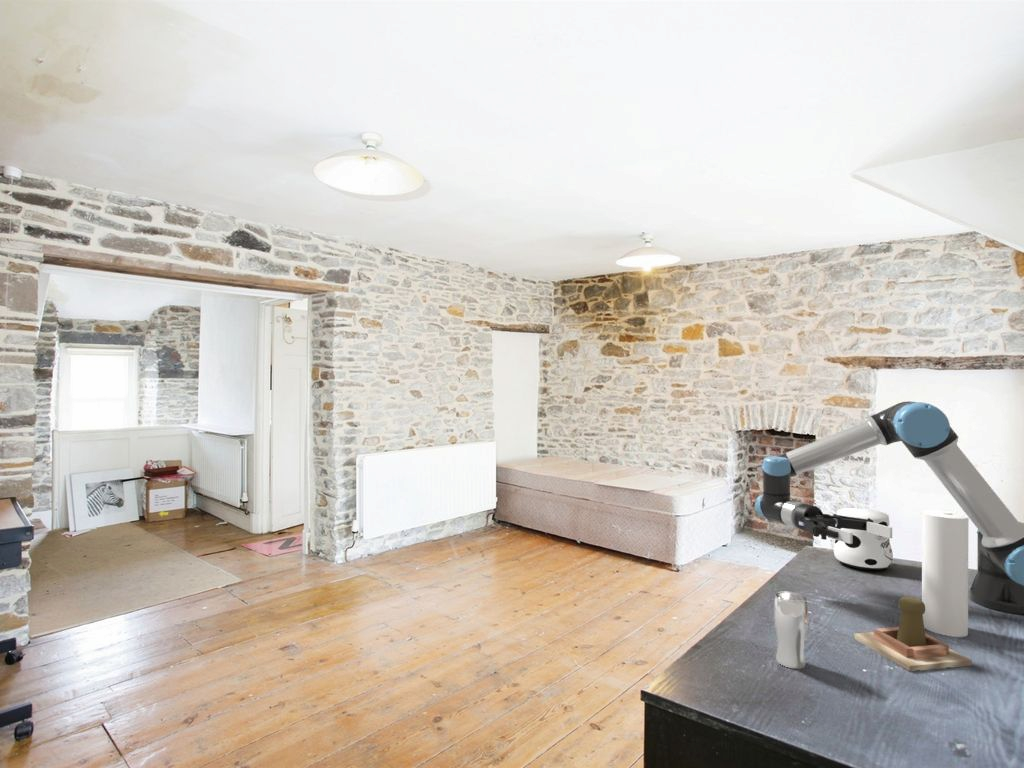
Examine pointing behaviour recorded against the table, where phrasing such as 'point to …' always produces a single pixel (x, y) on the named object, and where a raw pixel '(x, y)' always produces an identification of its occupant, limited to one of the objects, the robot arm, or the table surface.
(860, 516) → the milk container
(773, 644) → the table surface
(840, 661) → the table surface
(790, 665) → the beer glass
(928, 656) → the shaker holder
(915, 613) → the cork
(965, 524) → the cylinder container
